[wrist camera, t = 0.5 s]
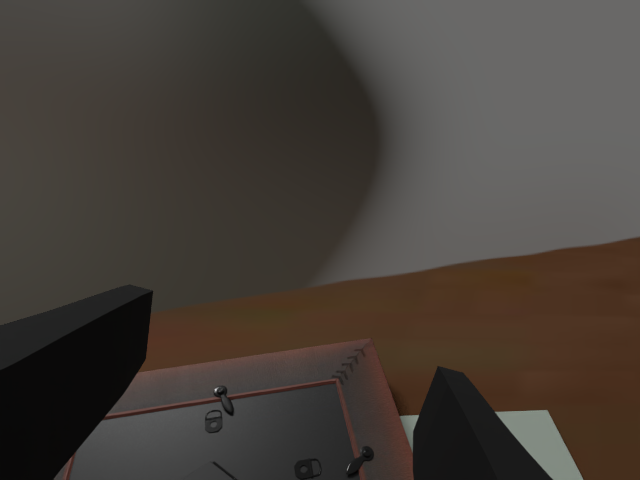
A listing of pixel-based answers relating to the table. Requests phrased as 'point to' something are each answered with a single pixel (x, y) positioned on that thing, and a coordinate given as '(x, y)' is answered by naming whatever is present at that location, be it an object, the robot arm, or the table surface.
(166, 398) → the picture frame
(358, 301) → the table surface
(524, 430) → the sage mat
